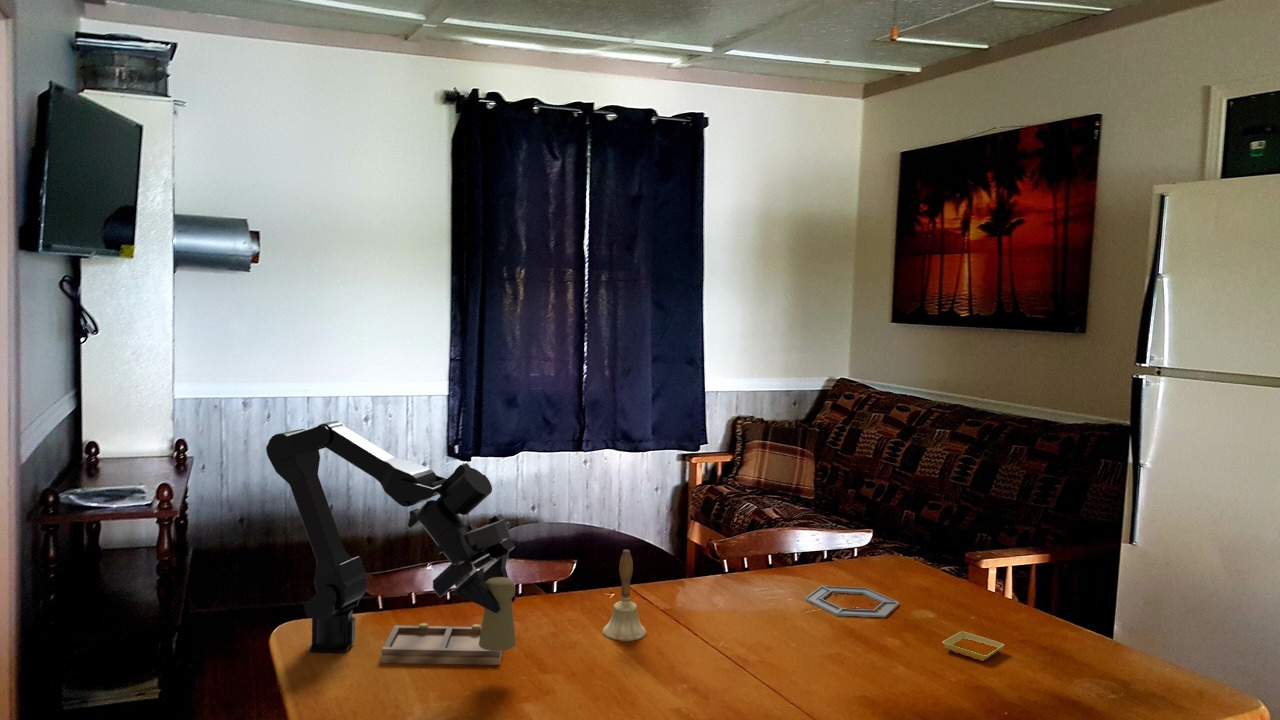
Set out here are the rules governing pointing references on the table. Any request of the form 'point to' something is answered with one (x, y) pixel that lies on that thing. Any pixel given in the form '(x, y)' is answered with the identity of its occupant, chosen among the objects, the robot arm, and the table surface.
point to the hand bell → (625, 608)
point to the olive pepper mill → (499, 617)
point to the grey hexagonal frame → (824, 591)
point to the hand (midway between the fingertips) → (506, 606)
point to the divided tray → (437, 646)
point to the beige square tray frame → (957, 637)
